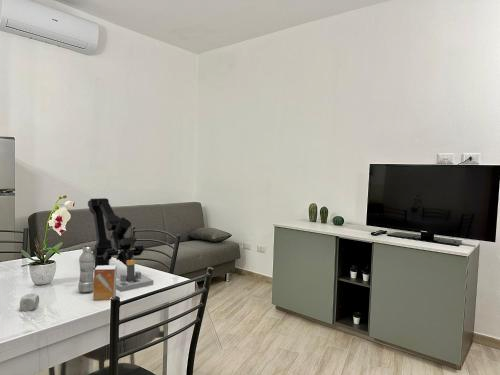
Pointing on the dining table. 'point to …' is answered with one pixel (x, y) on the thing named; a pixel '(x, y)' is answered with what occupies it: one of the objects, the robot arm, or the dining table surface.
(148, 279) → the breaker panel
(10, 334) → the dining table surface
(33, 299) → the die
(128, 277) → the lever
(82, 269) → the plastic bottle
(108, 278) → the small box
